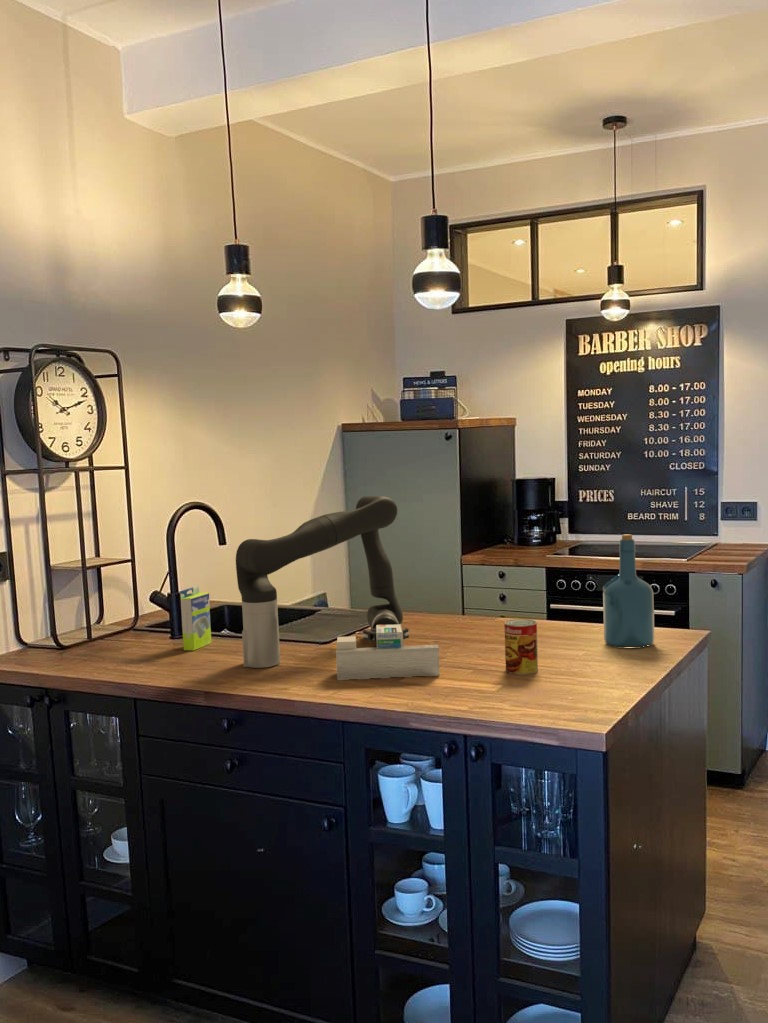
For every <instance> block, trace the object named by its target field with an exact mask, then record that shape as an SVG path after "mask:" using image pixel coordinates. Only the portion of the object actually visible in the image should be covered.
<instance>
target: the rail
mask: <svg viewBox="0 0 768 1023" xmlns="http://www.w3.org/2000/svg"><path fill="white" fill-rule="evenodd" d="M439 652H440V647H439V644H423V645H422V644H420V645H404V646H396V647H377V646H376V647H356V648H349V649H337V648H336V649H335V656H336V658H335V661H336V681H348V680H349V679H358V680H371V679H370V678H381V679H391V678H390V677H404V678H413V677H412V676H427V677H440V653H439ZM349 681H350V680H349Z"/></svg>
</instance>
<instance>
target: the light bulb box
mask: <svg viewBox="0 0 768 1023" xmlns="http://www.w3.org/2000/svg"><path fill="white" fill-rule="evenodd" d="M402 629H403V628H402V623H401V624H397V625H376V640H377V643H376V647H396V646H405V643H404V640H403V631H402Z"/></svg>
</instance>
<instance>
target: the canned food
mask: <svg viewBox="0 0 768 1023" xmlns="http://www.w3.org/2000/svg"><path fill="white" fill-rule="evenodd" d="M504 650H505V652H504V654H505V655H504V656H505V657H504V658H505V671H506V672H507V673H508V672H510V673H509V674H512V673H515V674H514V675H530V674H529V673H532V674H535V673H537V672H538V671H539V661H538V660H539V659H538V657H539V656H538V655H539V654H538V622H537V621H536V620H532V619H527V618H525V619H523V618H521V619H520V618H518V619H510V620H506V621H505V622H504ZM534 672H535V673H534Z"/></svg>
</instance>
